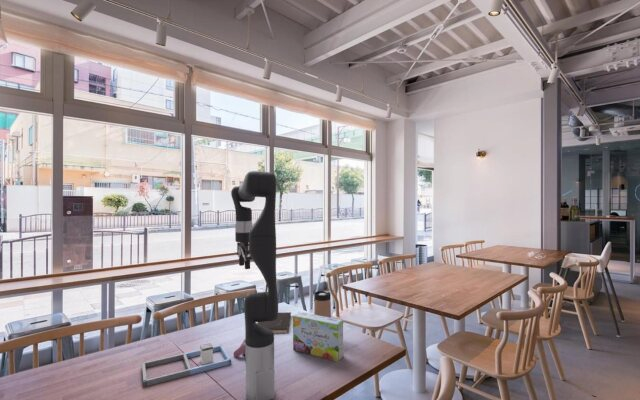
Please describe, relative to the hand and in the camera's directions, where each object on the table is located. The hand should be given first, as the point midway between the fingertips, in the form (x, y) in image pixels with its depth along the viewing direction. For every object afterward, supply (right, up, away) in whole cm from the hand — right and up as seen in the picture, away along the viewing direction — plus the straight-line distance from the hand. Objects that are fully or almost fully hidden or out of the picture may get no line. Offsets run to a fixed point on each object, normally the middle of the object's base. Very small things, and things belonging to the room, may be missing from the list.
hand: (244, 267), depth 149 cm
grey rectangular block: (-11, -34, -18) cm, 39 cm away
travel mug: (+35, -33, +4) cm, 48 cm away
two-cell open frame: (-17, -34, -21) cm, 43 cm away
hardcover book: (+10, -34, +20) cm, 40 cm away
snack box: (+33, -33, -12) cm, 48 cm away
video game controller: (+2, -34, -10) cm, 35 cm away
